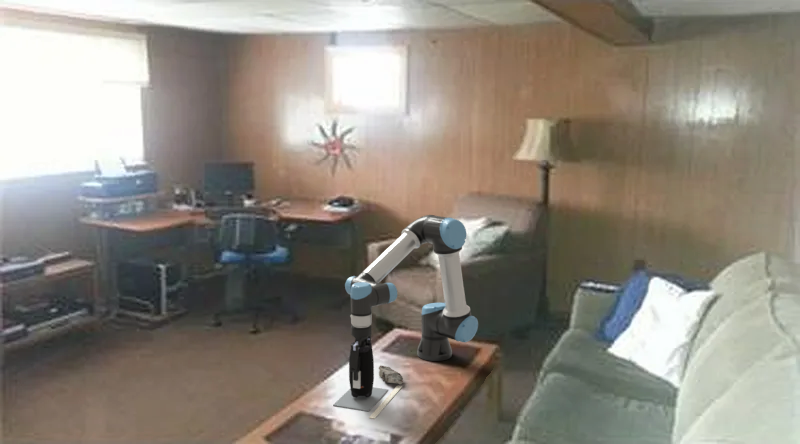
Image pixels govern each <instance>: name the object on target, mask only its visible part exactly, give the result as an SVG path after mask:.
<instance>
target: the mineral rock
mask: <svg viewBox="0 0 800 444" xmlns="http://www.w3.org/2000/svg"><path fill="white" fill-rule="evenodd" d="M378 370H379V372H378V376H379V378H382V380H383V382H384V383H386V384H388V383H389V384H394V385H395V384H399V385H401V384H403V383H404V380H403V379H404V378H403V376H402V374H401V373H399V371H396V370H395V369H393V368H391V367H390V366H385V365H379V366H378Z"/></svg>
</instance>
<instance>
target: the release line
mask: <svg viewBox="0 0 800 444" xmlns="http://www.w3.org/2000/svg"><path fill="white" fill-rule="evenodd" d="M402 388H403V385H396V386H395V387H394V388H393V390H392V391H391V392H390V393H389V394H388V395H387V397H385V399H384V400H383V401H382V402H381V403H380V405H378V407H376V409H375V410H374V411H373V412H372V413H371V415H370V416H369V417H368V419H371V420H372V419H373V420H375V419H376V417H378V415H379V414H380V413H381V412H382V411H383V410H384V409H385V407H387V405H388V404H389V403H390V402H391V401H392V400H393V398H394V397H395V396H396V395H397V393H398V392H399V391H400V390H401V389H402Z"/></svg>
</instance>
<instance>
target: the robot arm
mask: <svg viewBox="0 0 800 444" xmlns="http://www.w3.org/2000/svg"><path fill="white" fill-rule="evenodd" d="M466 239H467V229H466V226H465V225H464V223H463V222H462V221H461V220H459V219H456V218H453V217H447V216H446V217H445V216H440V215H436V214H434V215H433V214H426V215H424V216H420V217H418V218H417V219H415V220H413V221H412V222H411V223H409V224H408V225H407V226H406V227H405V228H403V229H402V231H401V235H400V236H399V237H398V238H396V239H395V240H394V241H393V243H391V244H390V245H389V246H388V247H387V248H386V249H385V250H384V251H382V253H381V254H380V255H379V256H378V257H377V258H375V260H373V262H372V263H370V264H369V265H368V266H367V267H366V268H365V269H364V270H363V271H362V272H361V273H360V274H359V275H358V276H355V275H353V276H352V275H351V276H350V277H348V278H347V279H346V281H345V283H344V287H345V288H344V289H345V291H346V293H347V294H348V295H350V315H349V317H350V323H351V325H350V335H351V336H352V337H353V338H354V345H351V344H350V350H351V365H350V371H351V372H353V388H358V389H360V388H361V371H359V370H360V357H359V347H365V345H368V342H370V343H371V344H372V323H373V322H372V321H373V320H372V319H373V318H372V315H373V314H372V312H373V311H372V310H373V309H372V308H373V307H379V306H382V305H386V304H387V305H388V304H390V303H392V302H395V301H396V300H397V298H398V290H397V287H396V285H395V284H394V283H393V282H384V283H380V282H381V281H382V280H384V279H385V277H386V276H387V275H389V273H391V272H392V270H393V269H394V268H396V267H397V266H398V265H399V264H400V263H401V262H402V261H403V260H404V259H405V258H406V257H407V256H408V255H409V254H410V253H412V251H413V250H414V249H419V248H420V247H421V246H422V245H424V244H431V245H432V249H433V252H434V254H436V255H437V256H438V263H439V270H440V277H441V284H442V290H443V291H442V292H443V298H444V302H432V303H427V304H424V305H423V306H422V308H421V315H420V316H421V338H420V341H419V344H418V346H417V352H416V353H417V357H419V358H420V359H422V360H424V361H425V360H426V361H430V362H439V361H446V360H449V359H450V358H452V356H453V349H452V346H451V344H450V340H453V341H456V342H460V343H467V342H470V341H472V340H473V338H474V337H475V336H476V333H477V332H478V328H479V321H478V318H477V317H475V316H474V315H472V312H471V307H470V306H469V305H467V301H466V295H465V287H464V281H463V280H464V279H463V272H462V271H463V270H462V265H461V264H462V263H461V258H460V252H461V251H462V250H463V247H464V245H465V243H466ZM449 339H450V340H449Z"/></svg>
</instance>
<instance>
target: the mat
mask: <svg viewBox="0 0 800 444" xmlns="http://www.w3.org/2000/svg"><path fill="white" fill-rule="evenodd" d="M388 391H389V389H388V388H382V387H381V388H379V387H375V386H373V389H372V395H371V396H370V397H365V396H358V397H357V398H356V397H353V396H352V395H351V388H349V389H348V390H347V391H345V393H344V394H343V395H341V397H339V399H338V400H336V402H335V403H333V405H332V406H333V407H338V408H344V409H351V410H357V411H362V412H363V411H364V412H370V411H371V410H372V409H373V408H374V407H375V406H376V404H378V402H379V401H380V400H381V399H382V398H383V396H385V394H387V392H388Z"/></svg>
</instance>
